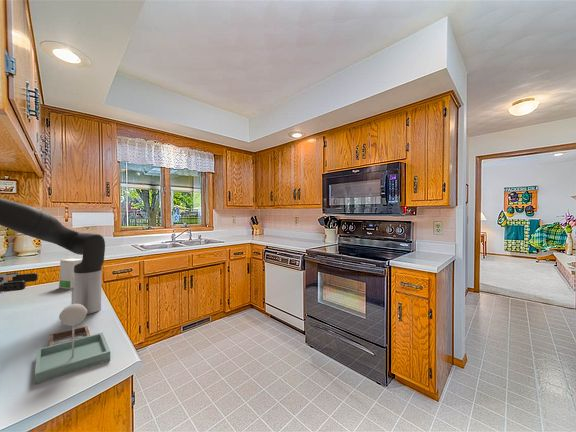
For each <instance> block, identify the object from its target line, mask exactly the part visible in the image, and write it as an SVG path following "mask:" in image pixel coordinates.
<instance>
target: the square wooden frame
mask: <svg viewBox="0 0 576 432" xmlns="http://www.w3.org/2000/svg"><path fill="white" fill-rule="evenodd" d="M82 334H84V336H83V335H82ZM79 335H82V336H80V337H76V338H75V337H74V340H75V339H79V338H83V337H87V336H91V333H90V329H89V327H88V325H83V326H81V327H75V328H74V336H79ZM70 337H72V329H69V330H63V331H60V332H55V333H50V334H49V346H52V345H56V344H59V343H63V342H67V341H71V340H72V339H68V340H64V341H60V342H56V343H54V341H57V340H62V339H65V338H70Z"/></svg>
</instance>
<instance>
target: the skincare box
mask: <svg viewBox="0 0 576 432" xmlns="http://www.w3.org/2000/svg"><path fill="white" fill-rule="evenodd" d="M59 262H60V263H59V278H58V279H59V282H58V288H59V289H64V290H65V289H66V290H73V289H74V266H75V265H77V264H79V263H81V262H82V258H73V257H71V258H65V259H60V260H59Z"/></svg>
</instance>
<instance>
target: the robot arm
mask: <svg viewBox="0 0 576 432" xmlns="http://www.w3.org/2000/svg"><path fill="white" fill-rule="evenodd" d="M0 226H2V227H3V228H7V229H9V230H12V231H14V232H17V233H19V234H22V235H24V236H28V237H30V238H35V239H37V240H41V241H43V242H48V243H51V244H55V245H57V246H59V247H62V248H63V249H65V250H67V251H69V252H71V253H73V254H76V255H81V256H82V258H81V259H82V262H81V263H79V264H77V265H75V266H74V288H73V289H71V304H70V305H72V304H81V305H83V306H84V307H85V308H86V309H87V314H86V315H90V314H93V313H97V312H99V311H100V310H101V309H102V269H103V267H102V266H103V265H104V262H105V252H106V241H105V238H104V237H103V235H101V234H100V233H91V232H90V233H89V232H88V233H87V232H79V231H77V230H73V229H71V228H69V227H66V226H65V225H63V224H62V223H61V222H60V221H59V219H57V218H56V217H55V216H53V215H51V214H49V213H47V212H45V211H42V210H41V209H38V208H36V207H34V206H31V205H27V204H24V203H20V202H16V201H14V200H9V199H5V198H2V197H0ZM38 277H39V275H38V273H37V272H33V273H22V274H21V273H19V272H17V271H15V272H9V273H7V272H5V273H0V294H2V293H8V292H16V291H23V290H25V289H26V287H27V286H26V283H31V282H32V283H33V282H36V281H37V280H38ZM8 278H11V279H8Z"/></svg>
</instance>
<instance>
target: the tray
mask: <svg viewBox="0 0 576 432" xmlns="http://www.w3.org/2000/svg"><path fill="white" fill-rule="evenodd" d="M82 337H83V336H82ZM78 338H79V337H78ZM74 339H75V338H74ZM70 340H71V341H68V340H66V341H67V342H64V341H62V342H63V343H60V342H58V343H59V344H56V343H55V344H56V345H52V346H50V345H48V346H44V347H41V348H37V350H36V359H35V360H36V361H35V369H34V385H37V384H40V383H43V382H46V381H49V380H50V381H51V380H52V379H55V378H58V377H59V378H60V377H61V376H65V375H68V374H71V373H74V372H78V371H81V370H84V369H87V368H90V367H94V366H96V365H99V364H102V363H105V362H108V361H111V350H110V347H109V344H108V342H107V340H106V337H105V335H104V333H103V332H100V333H96V334H90V336H87V337H83V338H79V339H75V340H74V356H73V357H72V339H70Z"/></svg>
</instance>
